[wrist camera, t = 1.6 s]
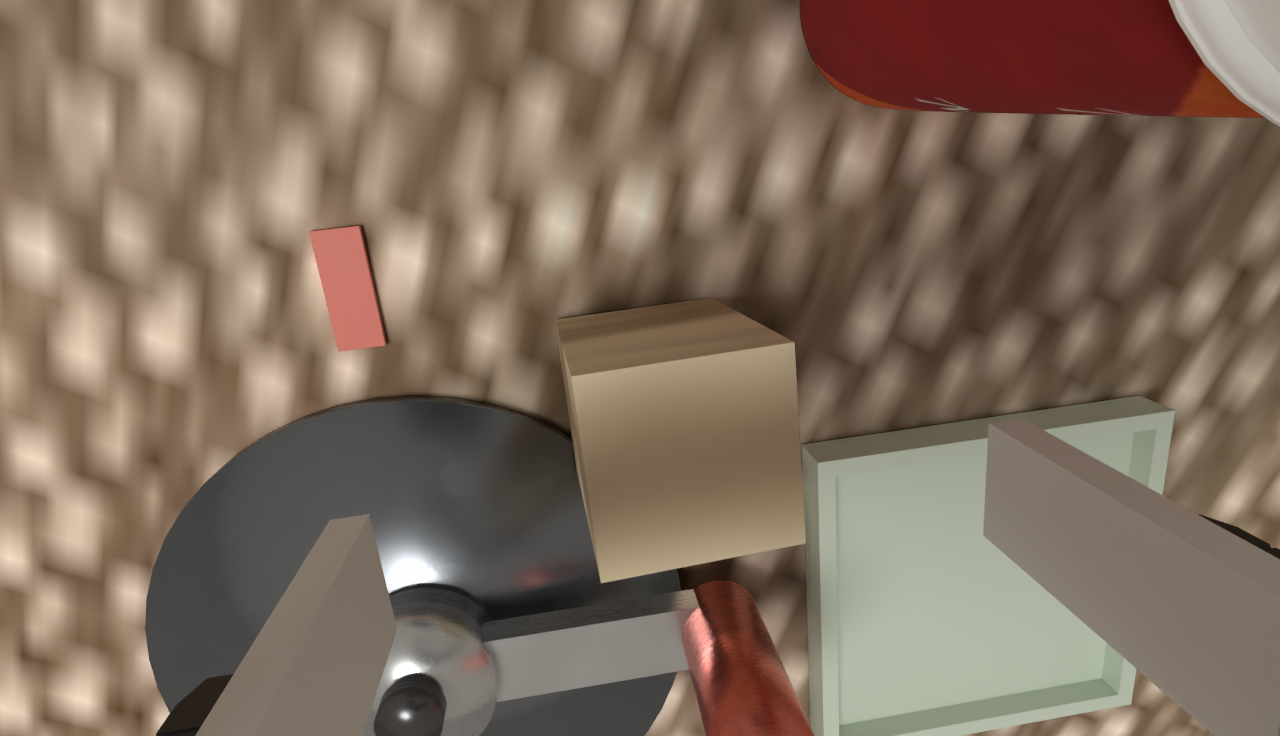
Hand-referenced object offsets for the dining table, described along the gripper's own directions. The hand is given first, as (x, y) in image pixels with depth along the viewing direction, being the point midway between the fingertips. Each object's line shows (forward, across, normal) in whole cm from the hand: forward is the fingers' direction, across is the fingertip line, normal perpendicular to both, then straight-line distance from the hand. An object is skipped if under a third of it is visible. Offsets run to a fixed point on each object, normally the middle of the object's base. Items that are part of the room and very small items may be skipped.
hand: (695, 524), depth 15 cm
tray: (+9, +12, -9) cm, 17 cm away
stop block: (+8, 0, 0) cm, 8 cm away
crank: (+8, -4, -8) cm, 12 cm away
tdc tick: (+9, -8, +5) cm, 13 cm away
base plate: (+9, -8, -8) cm, 15 cm away
